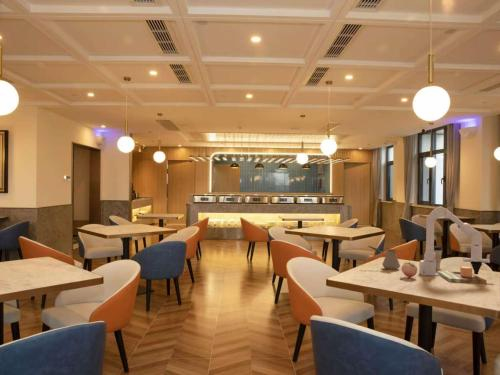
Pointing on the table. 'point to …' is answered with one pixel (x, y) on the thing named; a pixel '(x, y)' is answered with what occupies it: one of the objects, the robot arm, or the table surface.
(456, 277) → the trap board
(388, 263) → the coffee pot
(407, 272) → the decorative fruit
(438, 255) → the coffee cup
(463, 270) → the block
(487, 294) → the table surface
